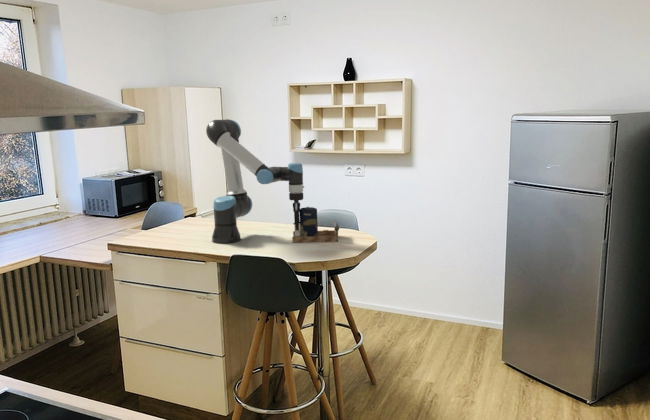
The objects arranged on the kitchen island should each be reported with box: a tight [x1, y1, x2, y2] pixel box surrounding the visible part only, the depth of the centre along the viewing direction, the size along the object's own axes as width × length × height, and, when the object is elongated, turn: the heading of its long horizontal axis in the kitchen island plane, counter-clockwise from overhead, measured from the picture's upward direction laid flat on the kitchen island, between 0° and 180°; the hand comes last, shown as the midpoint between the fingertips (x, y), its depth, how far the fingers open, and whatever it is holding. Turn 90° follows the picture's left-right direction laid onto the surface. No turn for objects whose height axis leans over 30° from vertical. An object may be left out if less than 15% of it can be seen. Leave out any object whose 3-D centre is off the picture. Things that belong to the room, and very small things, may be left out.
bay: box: [291, 220, 340, 244], centre depth 282 cm, size 25×15×8 cm, turn 92°
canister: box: [299, 206, 319, 237], centre depth 281 cm, size 10×10×18 cm
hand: (297, 235), depth 282 cm, fingers closed
